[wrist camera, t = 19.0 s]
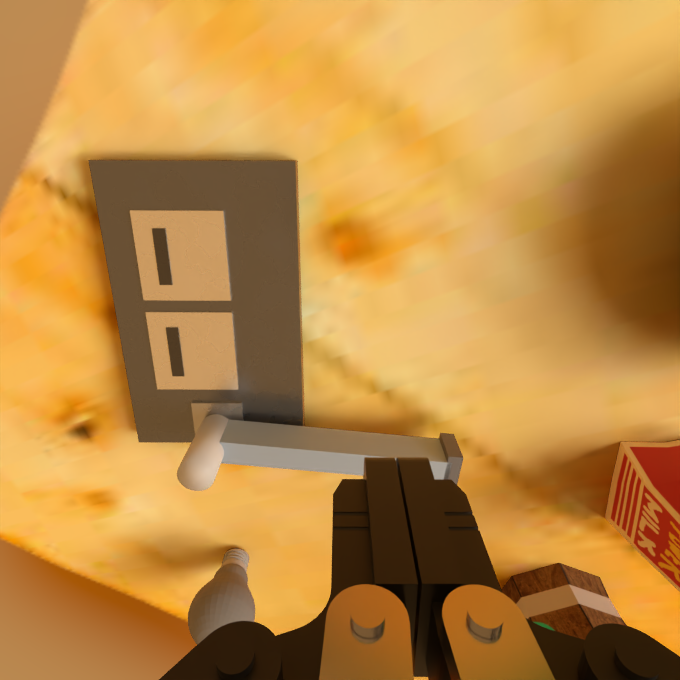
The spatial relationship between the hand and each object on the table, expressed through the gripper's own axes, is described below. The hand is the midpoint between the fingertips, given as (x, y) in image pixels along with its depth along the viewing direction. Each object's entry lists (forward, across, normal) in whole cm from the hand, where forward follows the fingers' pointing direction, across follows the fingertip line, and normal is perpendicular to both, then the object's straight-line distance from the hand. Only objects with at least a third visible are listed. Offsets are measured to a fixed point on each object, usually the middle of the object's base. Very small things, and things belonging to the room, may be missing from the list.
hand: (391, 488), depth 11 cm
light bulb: (+29, +12, +32) cm, 45 cm away
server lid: (+29, +12, +5) cm, 32 cm away
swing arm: (+27, +2, +16) cm, 31 cm away
